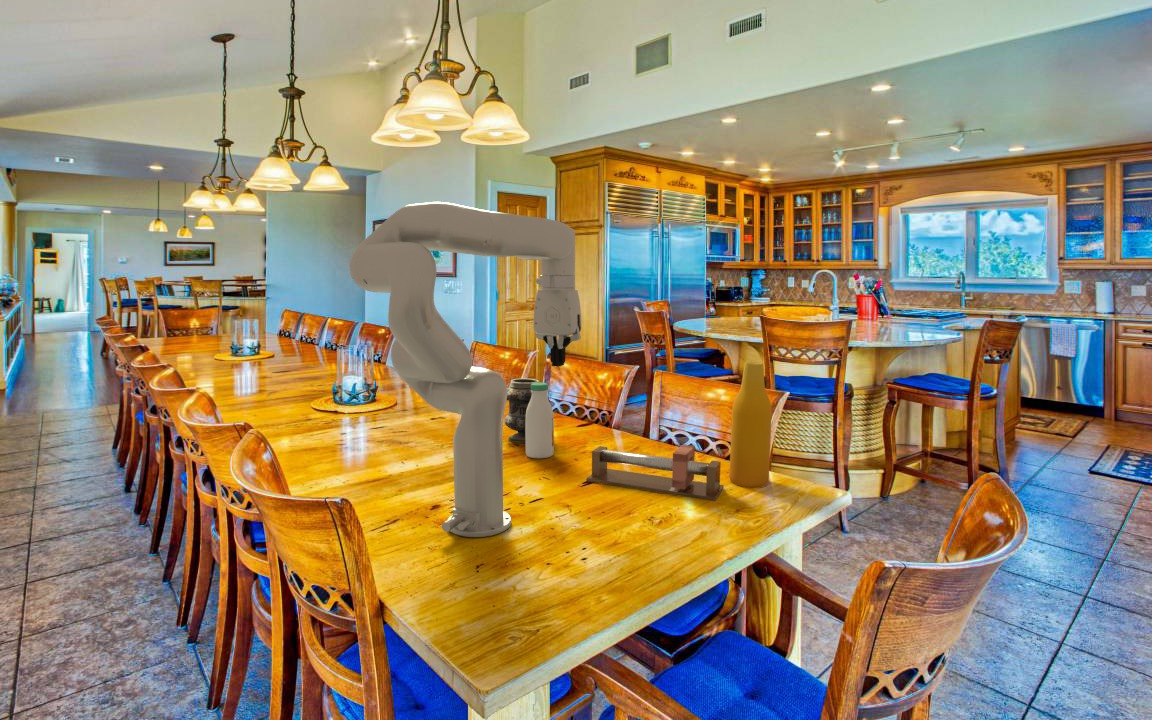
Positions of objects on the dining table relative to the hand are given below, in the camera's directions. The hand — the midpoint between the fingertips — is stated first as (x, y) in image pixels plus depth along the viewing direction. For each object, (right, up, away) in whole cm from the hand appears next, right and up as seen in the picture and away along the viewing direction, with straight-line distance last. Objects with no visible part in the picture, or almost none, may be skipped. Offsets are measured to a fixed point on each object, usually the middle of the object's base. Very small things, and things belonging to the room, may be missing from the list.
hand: (557, 365), depth 141 cm
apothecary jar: (-11, -23, +48) cm, 55 cm away
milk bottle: (-6, -25, +32) cm, 41 cm away
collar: (+29, -27, +5) cm, 40 cm away
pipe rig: (+23, -28, +8) cm, 37 cm away
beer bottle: (+46, -28, +10) cm, 55 cm away
